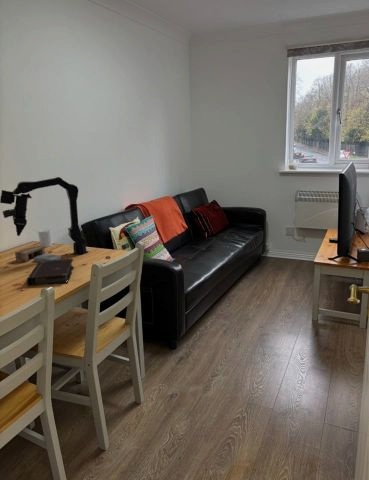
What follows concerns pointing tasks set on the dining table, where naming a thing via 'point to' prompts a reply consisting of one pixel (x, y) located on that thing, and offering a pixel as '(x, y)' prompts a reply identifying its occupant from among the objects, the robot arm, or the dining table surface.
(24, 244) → the dining table surface
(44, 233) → the white cup
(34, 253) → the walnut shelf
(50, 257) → the slate tile
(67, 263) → the diary
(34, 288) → the dining table surface
